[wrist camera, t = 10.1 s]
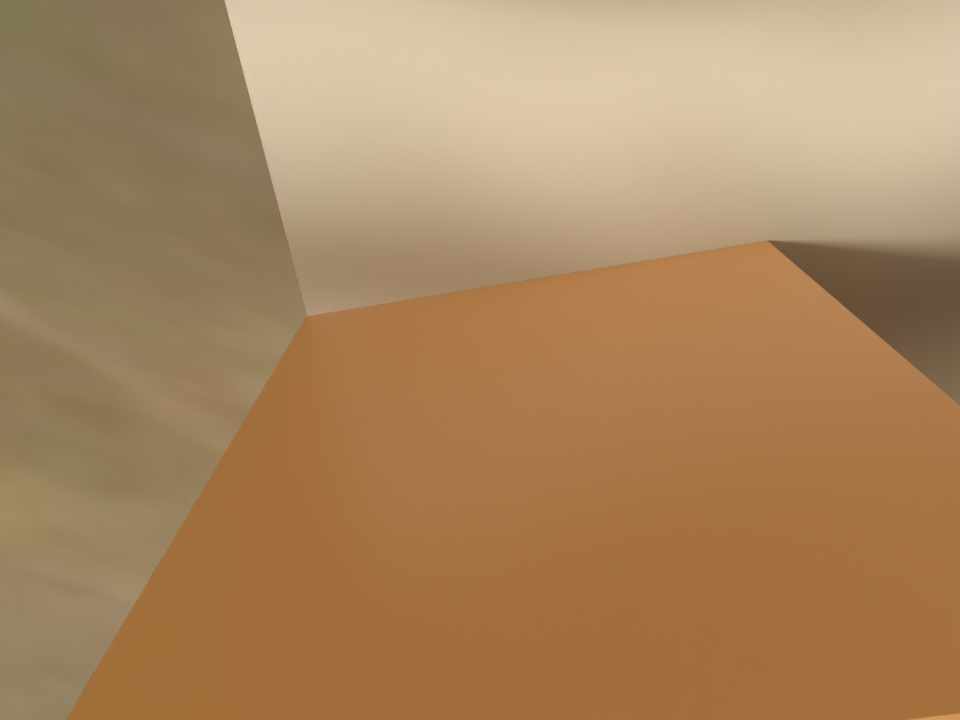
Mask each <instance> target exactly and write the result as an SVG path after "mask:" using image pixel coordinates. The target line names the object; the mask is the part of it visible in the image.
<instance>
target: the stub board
mask: <svg viewBox="0 0 960 720" xmlns="http://www.w3.org/2000/svg"><path fill="white" fill-rule="evenodd" d="M225 3H226V7H227V11H228V15H229V19H230V23H231V26H232V30H233V34H234V38H235V42H236V45H237V49H238V53H239V57H240V61H241V65H242V68H243V72H244V76H245V80H246V84H247V88H248V91H249V95H250V99H251V103H252V107H253V110H254V114H255V118H256V122H257V126H258V130H259V133H260V137H261V141H262V145H263V149H264V153H265V156H266V160H267V164H268V168H269V172H270V175H271V179H272V183H273V187H274V191H275V195H276V198H277V202H278V206H279V210H280V214H281V218H282V221H283V225H284V229H285V233H286V237H287V240H288V244H289V248H290V252H291V256H292V260H293V263H294V267H295V271H296V275H297V279H298V283H299V286H300V290H301V294H302V298H303V302H304V305H305V309H306V313H307V316H310V315H316V314H322V313H328V312H334V311H340V310H346V309H352V308H358V307H364V306H370V305H376V304H383V303H389V302H395V301H401V300H407V299H413V298H419V297H425V296H431V295H437V294H443V293H449V292H456V291H462V290H468V289H474V288H480V287H486V286H492V285H498V284H504V283H510V282H516V281H522V280H529V279H535V278H541V277H547V276H553V275H559V274H565V273H571V272H577V271H583V270H589V269H596V268H602V267H608V266H614V265H620V264H626V263H632V262H638V261H644V260H650V259H656V258H662V257H669V256H675V255H681V254H687V253H693V252H699V251H705V250H711V249H717V248H723V247H729V246H735V245H742V244H748V243H754V242H760V241H766V240H767V241H768V242H770V243H771V244H772V245H773V246H774V247H775V248H777V249H778V250H779V251H780V252H781V253H782V254H784V255H785V256H786V257H787V258H788V259H789V260H791V261H792V262H793V263H794V264H795V265H796V266H798V267H799V268H800V269H801V270H802V271H803V272H805V273H806V274H807V275H808V276H809V277H810V278H812V279H813V280H814V281H815V282H816V283H817V284H819V285H820V286H821V287H822V288H823V289H824V290H826V291H827V292H828V293H829V294H830V295H831V296H833V297H834V298H835V299H836V300H837V301H838V302H840V303H841V304H842V305H843V306H844V307H845V308H847V309H848V310H849V311H850V312H851V313H852V314H854V315H855V316H856V317H857V318H858V319H859V320H861V321H862V322H863V323H864V324H865V325H866V326H868V327H869V328H870V329H871V330H872V331H873V332H875V333H876V334H877V335H878V336H879V337H880V338H882V339H883V340H884V341H885V342H886V343H887V344H889V345H890V346H891V347H892V348H893V349H894V350H896V351H897V352H898V353H899V354H900V355H901V356H903V357H904V358H905V359H906V360H907V361H908V362H910V363H911V364H912V365H913V366H914V367H915V368H917V369H918V370H919V371H920V372H921V373H922V374H924V375H925V376H926V377H927V378H928V379H929V380H931V381H932V382H933V383H934V384H935V385H936V386H938V387H939V388H940V389H941V390H942V391H943V392H945V393H946V394H947V395H948V396H949V397H950V398H952V399H953V400H954V401H955V402H956V403H957V404H959V405H960V0H225Z"/></svg>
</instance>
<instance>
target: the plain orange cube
mask: <svg viewBox="0 0 960 720" xmlns="http://www.w3.org/2000/svg"><path fill="white" fill-rule="evenodd" d="M66 720H960V405H959V404H957V403H956V402H955V401H954V400H953V399H952V398H950V397H949V396H948V395H947V394H946V393H945V392H943V391H942V390H941V389H940V388H939V387H938V386H936V385H935V384H934V383H933V382H932V381H931V380H929V379H928V378H927V377H926V376H925V375H924V374H922V373H921V372H920V371H919V370H918V369H917V368H915V367H914V366H913V365H912V364H911V363H910V362H908V361H907V360H906V359H905V358H904V357H903V356H901V355H900V354H899V353H898V352H897V351H896V350H894V349H893V348H892V347H891V346H890V345H889V344H887V343H886V342H885V341H884V340H883V339H882V338H880V337H879V336H878V335H877V334H876V333H875V332H873V331H872V330H871V329H870V328H869V327H868V326H866V325H865V324H864V323H863V322H862V321H861V320H859V319H858V318H857V317H856V316H855V315H854V314H852V313H851V312H850V311H849V310H848V309H847V308H845V307H844V306H843V305H842V304H841V303H840V302H838V301H837V300H836V299H835V298H834V297H833V296H831V295H830V294H829V293H828V292H827V291H826V290H824V289H823V288H822V287H821V286H820V285H819V284H817V283H816V282H815V281H814V280H813V279H812V278H810V277H809V276H808V275H807V274H806V273H805V272H803V271H802V270H801V269H800V268H799V267H798V266H796V265H795V264H794V263H793V262H792V261H791V260H789V259H788V258H787V257H786V256H785V255H784V254H782V253H781V252H780V251H779V250H778V249H777V248H775V247H774V246H773V245H772V244H771V243H770V242H768V241H767V240H766V241H760V242H754V243H748V244H742V245H735V246H729V247H723V248H717V249H711V250H705V251H699V252H693V253H687V254H681V255H675V256H669V257H662V258H656V259H650V260H644V261H638V262H632V263H626V264H620V265H614V266H608V267H602V268H596V269H589V270H583V271H577V272H571V273H565V274H559V275H553V276H547V277H541V278H535V279H529V280H522V281H516V282H510V283H504V284H498V285H492V286H486V287H480V288H474V289H468V290H462V291H456V292H449V293H443V294H437V295H431V296H425V297H419V298H413V299H407V300H401V301H395V302H389V303H383V304H376V305H370V306H364V307H358V308H352V309H346V310H340V311H334V312H328V313H322V314H316V315H310V316H306V317H305V319H304V321H303V323H302V324H301V326H300V328H299V329H298V331H297V333H296V334H295V336H294V338H293V339H292V341H291V343H290V344H289V346H288V348H287V349H286V351H285V353H284V354H283V356H282V358H281V359H280V361H279V363H278V364H277V366H276V368H275V369H274V371H273V373H272V375H271V376H270V378H269V380H268V381H267V383H266V385H265V386H264V388H263V390H262V391H261V393H260V395H259V396H258V398H257V400H256V401H255V403H254V405H253V406H252V408H251V410H250V411H249V413H248V415H247V416H246V418H245V420H244V422H243V423H242V425H241V427H240V428H239V430H238V432H237V433H236V435H235V437H234V438H233V440H232V442H231V443H230V445H229V447H228V448H227V450H226V452H225V453H224V455H223V457H222V458H221V460H220V462H219V463H218V465H217V467H216V468H215V470H214V472H213V474H212V475H211V477H210V479H209V480H208V482H207V484H206V485H205V487H204V489H203V490H202V492H201V494H200V495H199V497H198V499H197V500H196V502H195V504H194V505H193V507H192V509H191V510H190V512H189V514H188V515H187V517H186V519H185V520H184V522H183V524H182V526H181V527H180V529H179V531H178V532H177V534H176V536H175V537H174V539H173V541H172V542H171V544H170V546H169V547H168V549H167V551H166V552H165V554H164V556H163V557H162V559H161V561H160V562H159V564H158V566H157V567H156V569H155V571H154V573H153V574H152V576H151V578H150V579H149V581H148V583H147V584H146V586H145V588H144V589H143V591H142V593H141V594H140V596H139V598H138V599H137V601H136V603H135V604H134V606H133V608H132V609H131V611H130V613H129V614H128V616H127V618H126V619H125V621H124V623H123V625H122V626H121V628H120V630H119V631H118V633H117V635H116V636H115V638H114V640H113V641H112V643H111V645H110V646H109V648H108V650H107V651H106V653H105V655H104V656H103V658H102V660H101V661H100V663H99V665H98V666H97V668H96V670H95V672H94V673H93V675H92V677H91V678H90V680H89V682H88V683H87V685H86V687H85V688H84V690H83V692H82V693H81V695H80V697H79V698H78V700H77V702H76V703H75V705H74V707H73V708H72V710H71V712H70V713H69V715H68V717H67V718H66Z"/></svg>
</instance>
